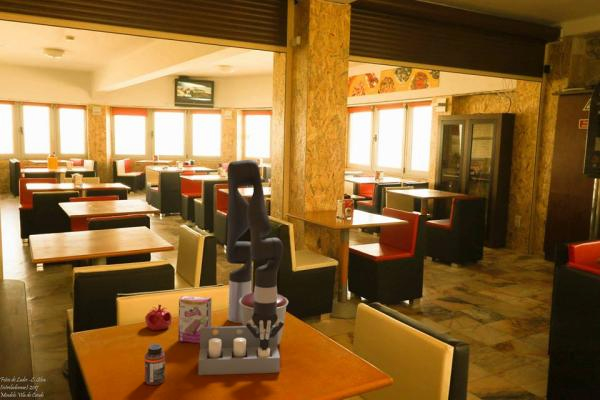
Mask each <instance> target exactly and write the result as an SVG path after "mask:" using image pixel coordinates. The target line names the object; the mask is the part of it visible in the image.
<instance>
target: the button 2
mask: <svg viewBox="0 0 600 400" xmlns="http://www.w3.org/2000/svg"><path fill="white" fill-rule="evenodd" d="M258 357H270V348H269V347H268V348H267V349H266V350H262V348H260V347H259V348H258Z"/></svg>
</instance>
